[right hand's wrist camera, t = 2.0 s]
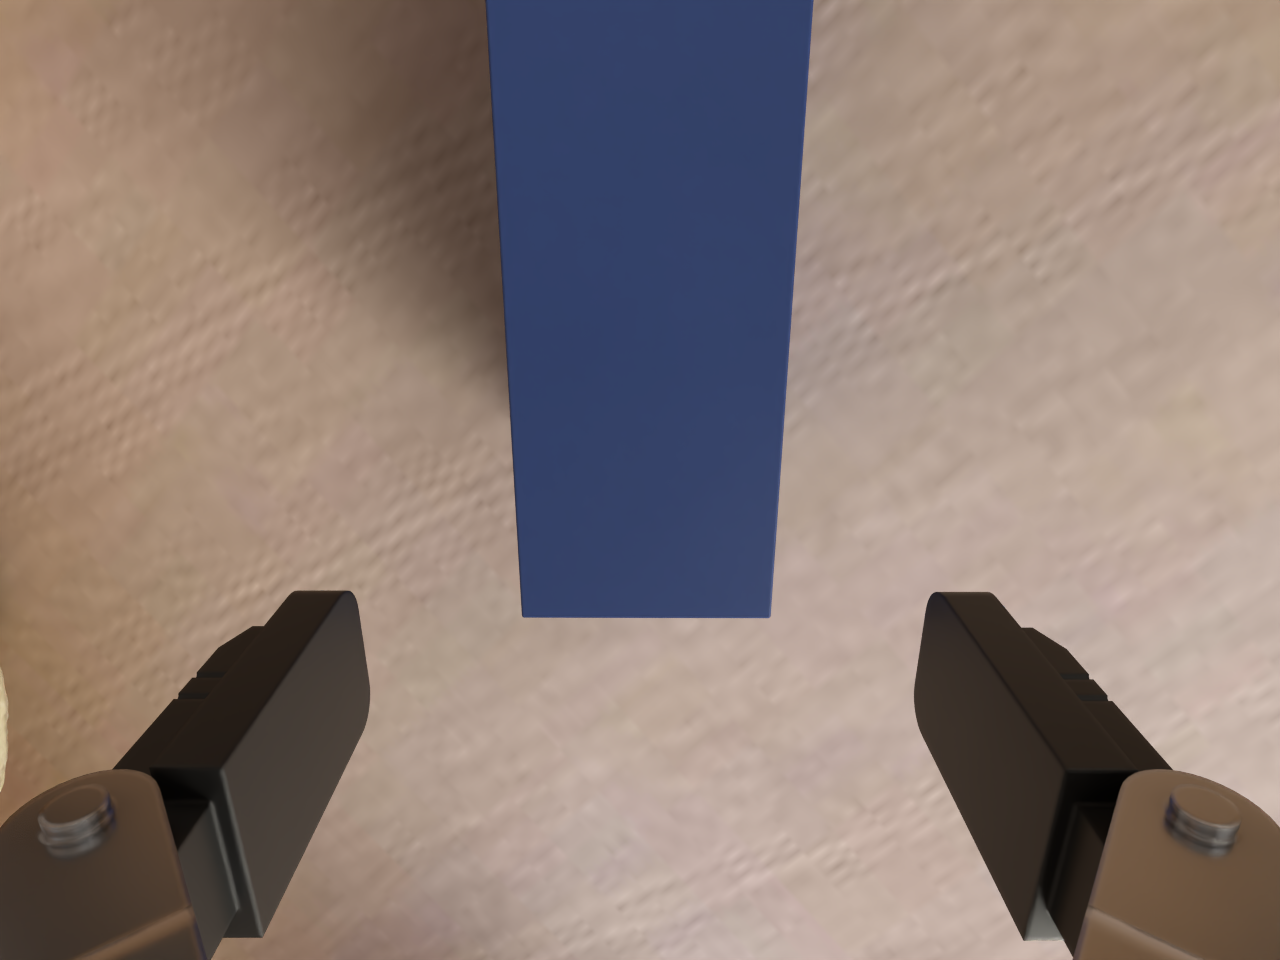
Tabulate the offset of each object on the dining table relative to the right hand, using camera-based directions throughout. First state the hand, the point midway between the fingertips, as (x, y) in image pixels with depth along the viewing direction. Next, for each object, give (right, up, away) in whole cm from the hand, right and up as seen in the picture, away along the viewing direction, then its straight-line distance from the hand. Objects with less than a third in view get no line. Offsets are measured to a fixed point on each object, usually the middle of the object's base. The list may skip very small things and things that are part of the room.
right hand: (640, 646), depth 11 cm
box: (0, +14, +14) cm, 19 cm away
